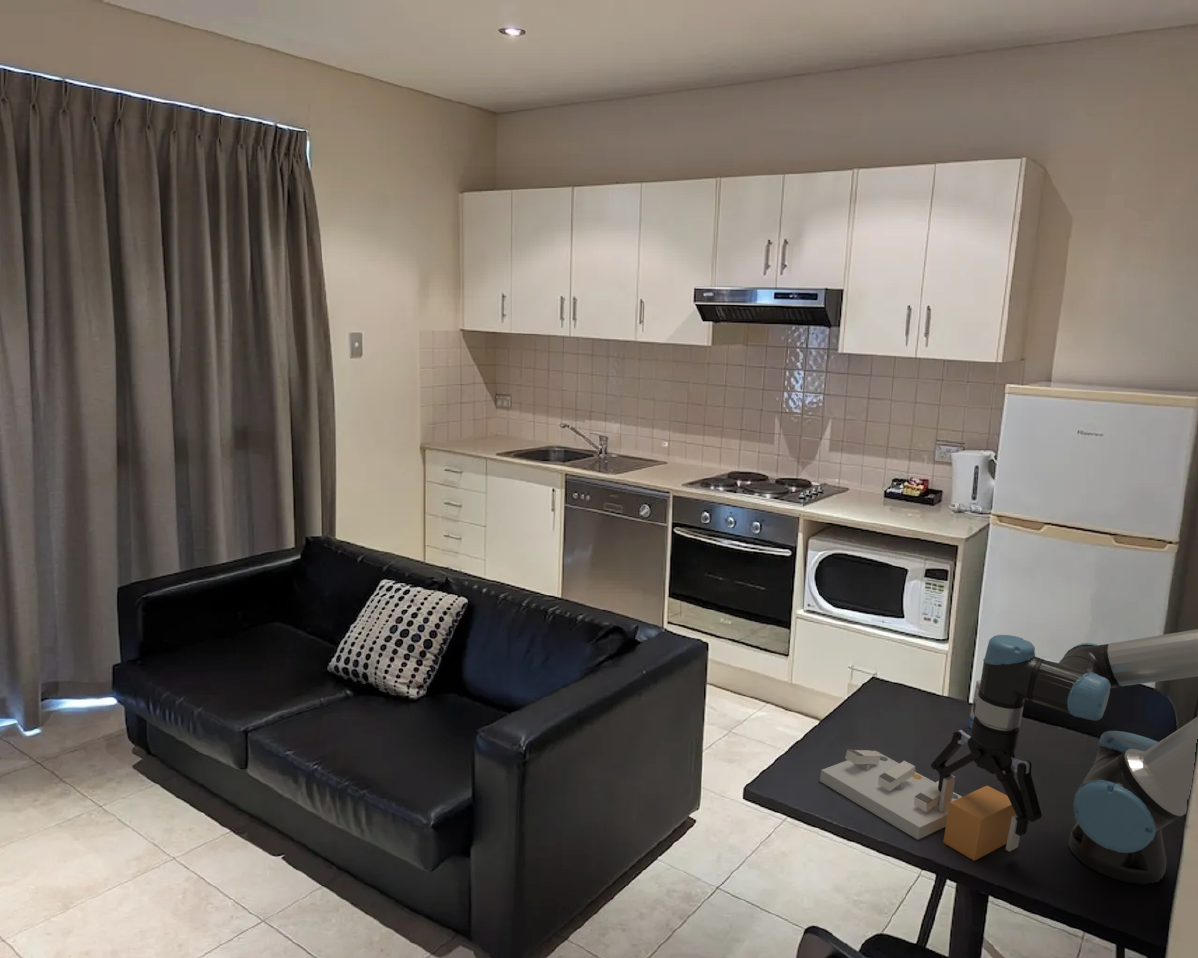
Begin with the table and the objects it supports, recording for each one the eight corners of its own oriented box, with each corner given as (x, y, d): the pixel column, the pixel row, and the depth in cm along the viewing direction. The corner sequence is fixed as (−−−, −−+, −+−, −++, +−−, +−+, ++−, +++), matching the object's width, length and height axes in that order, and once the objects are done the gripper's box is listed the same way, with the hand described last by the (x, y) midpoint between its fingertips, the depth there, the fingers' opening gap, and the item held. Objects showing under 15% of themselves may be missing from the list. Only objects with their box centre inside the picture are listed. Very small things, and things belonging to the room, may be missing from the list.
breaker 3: (952, 793, 170) (952, 784, 170) (926, 812, 166) (926, 803, 166) (940, 787, 172) (940, 778, 172) (914, 805, 168) (914, 796, 168)
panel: (971, 814, 172) (974, 797, 172) (917, 839, 162) (920, 821, 162) (873, 761, 190) (875, 745, 190) (819, 781, 181) (821, 764, 180)
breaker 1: (878, 764, 183) (881, 755, 183) (855, 764, 179) (858, 754, 178) (867, 758, 186) (870, 749, 185) (844, 758, 181) (847, 749, 181)
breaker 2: (915, 774, 177) (915, 765, 176) (889, 791, 173) (889, 782, 172) (904, 768, 179) (904, 759, 178) (878, 784, 175) (878, 776, 174)
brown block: (1011, 840, 164) (1018, 801, 163) (974, 860, 157) (981, 819, 156) (980, 823, 169) (987, 785, 168) (943, 842, 162) (949, 802, 161)
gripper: (1077, 748, 151) (1054, 859, 155) (947, 688, 171) (929, 788, 175) (1054, 759, 147) (1031, 872, 151) (923, 696, 166) (906, 799, 171)
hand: (976, 828), depth 163 cm, fingers open, 13 cm apart
